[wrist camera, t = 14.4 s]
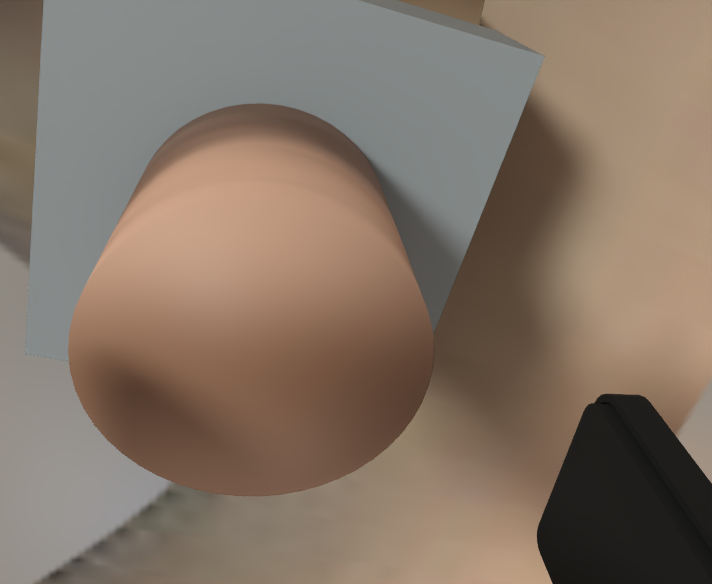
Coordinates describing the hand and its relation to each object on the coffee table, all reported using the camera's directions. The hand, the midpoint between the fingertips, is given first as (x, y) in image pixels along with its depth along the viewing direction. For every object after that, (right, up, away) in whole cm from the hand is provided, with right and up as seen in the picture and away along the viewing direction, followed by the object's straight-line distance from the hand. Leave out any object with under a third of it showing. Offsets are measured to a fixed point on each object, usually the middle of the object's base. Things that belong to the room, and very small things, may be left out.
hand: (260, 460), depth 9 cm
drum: (-1, +4, +8) cm, 9 cm away
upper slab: (-1, +6, +11) cm, 13 cm away
